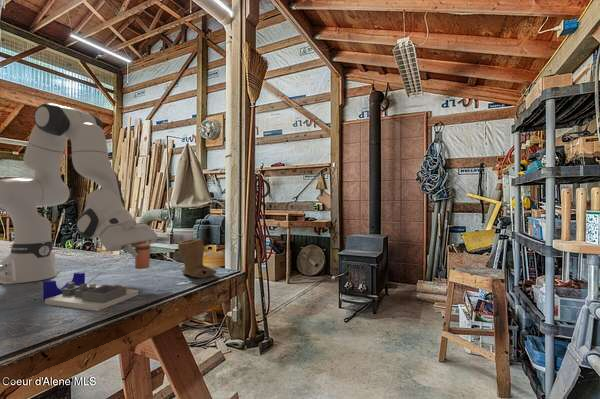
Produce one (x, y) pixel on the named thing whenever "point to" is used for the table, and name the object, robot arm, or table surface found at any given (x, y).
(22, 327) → the table surface
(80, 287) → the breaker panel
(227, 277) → the table surface
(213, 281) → the table surface
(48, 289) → the blue u-shaped piece
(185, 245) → the brown boot
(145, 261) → the lockout cap
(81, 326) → the table surface
